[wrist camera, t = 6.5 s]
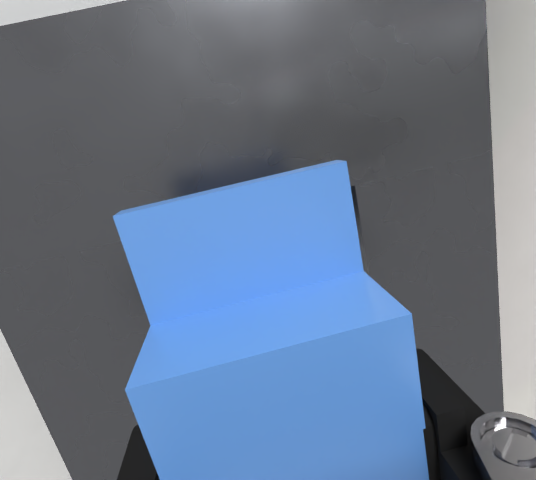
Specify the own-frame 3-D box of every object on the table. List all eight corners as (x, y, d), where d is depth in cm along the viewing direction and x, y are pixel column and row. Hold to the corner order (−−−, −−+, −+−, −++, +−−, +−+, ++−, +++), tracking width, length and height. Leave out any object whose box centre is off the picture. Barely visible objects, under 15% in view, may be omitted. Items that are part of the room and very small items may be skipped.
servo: (305, 155, 10) (404, 167, 5) (364, 468, 13) (464, 697, 8) (149, 192, 10) (58, 251, 4) (246, 503, 13) (263, 764, 8)
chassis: (428, -27, 12) (482, -72, 10) (465, 437, 18) (507, 487, 15) (-52, 73, 11) (-132, 53, 9) (143, 528, 17) (129, 598, 14)
